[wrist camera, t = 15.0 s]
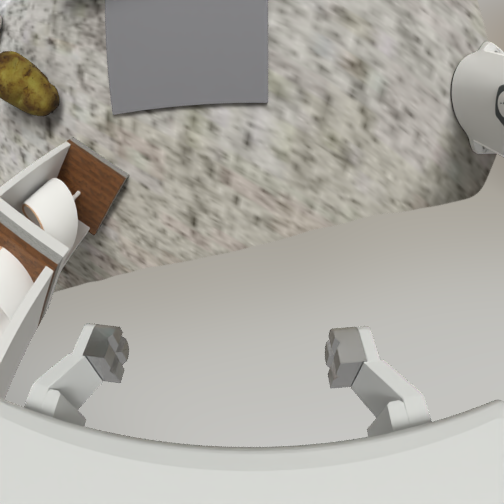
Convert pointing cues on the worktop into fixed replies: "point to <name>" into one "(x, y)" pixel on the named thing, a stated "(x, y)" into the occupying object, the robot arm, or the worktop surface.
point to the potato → (26, 85)
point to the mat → (186, 52)
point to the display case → (46, 236)
